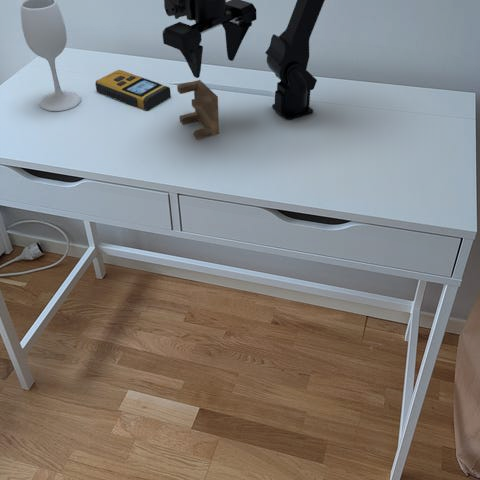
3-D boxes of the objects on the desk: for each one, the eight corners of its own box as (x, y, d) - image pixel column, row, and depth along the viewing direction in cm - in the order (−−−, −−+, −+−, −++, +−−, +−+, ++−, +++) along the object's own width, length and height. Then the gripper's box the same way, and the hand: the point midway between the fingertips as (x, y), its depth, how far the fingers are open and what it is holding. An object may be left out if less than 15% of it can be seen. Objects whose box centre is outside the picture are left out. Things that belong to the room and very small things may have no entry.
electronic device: (121, 80, 136) (118, 66, 134) (172, 98, 129) (171, 84, 127) (94, 94, 131) (91, 80, 129) (146, 113, 124) (144, 98, 122)
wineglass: (87, 95, 129) (69, -3, 115) (69, 113, 123) (47, 12, 109) (52, 90, 131) (29, -7, 117) (32, 109, 125) (6, 8, 111)
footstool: (201, 115, 122) (199, 79, 117) (218, 133, 117) (217, 96, 112) (180, 121, 120) (177, 85, 115) (196, 139, 115) (194, 102, 110)
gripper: (213, -40, 110) (218, 41, 120) (136, -12, 100) (148, 74, 110) (257, -28, 104) (259, 56, 114) (180, 2, 94) (189, 91, 105)
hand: (214, 68), depth 111 cm, fingers open, 9 cm apart
